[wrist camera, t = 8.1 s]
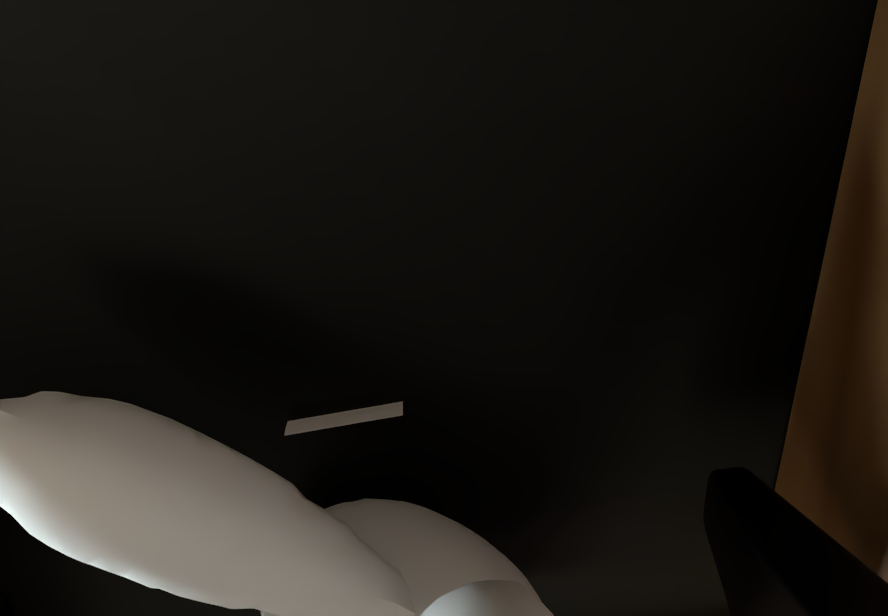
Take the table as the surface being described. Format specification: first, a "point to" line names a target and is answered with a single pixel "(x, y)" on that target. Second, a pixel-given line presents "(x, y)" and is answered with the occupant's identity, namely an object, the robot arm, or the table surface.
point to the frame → (849, 344)
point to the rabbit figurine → (235, 519)
